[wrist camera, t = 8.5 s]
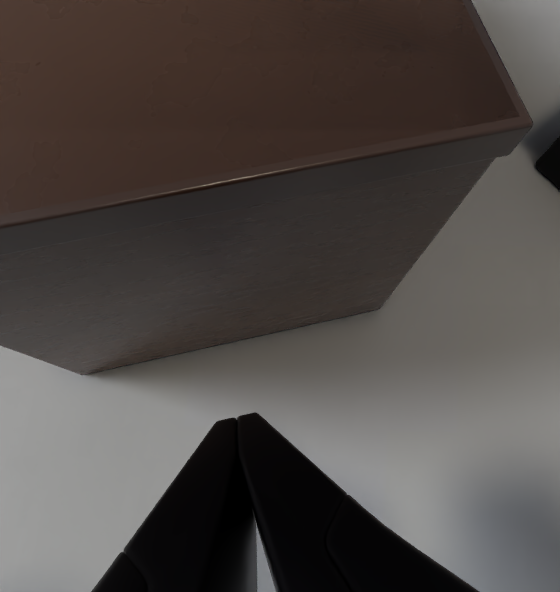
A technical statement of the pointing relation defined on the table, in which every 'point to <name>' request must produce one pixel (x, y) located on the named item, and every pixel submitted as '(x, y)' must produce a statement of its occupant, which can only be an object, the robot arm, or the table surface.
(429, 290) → the table surface
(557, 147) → the digital camera
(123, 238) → the brown box
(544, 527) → the table surface
